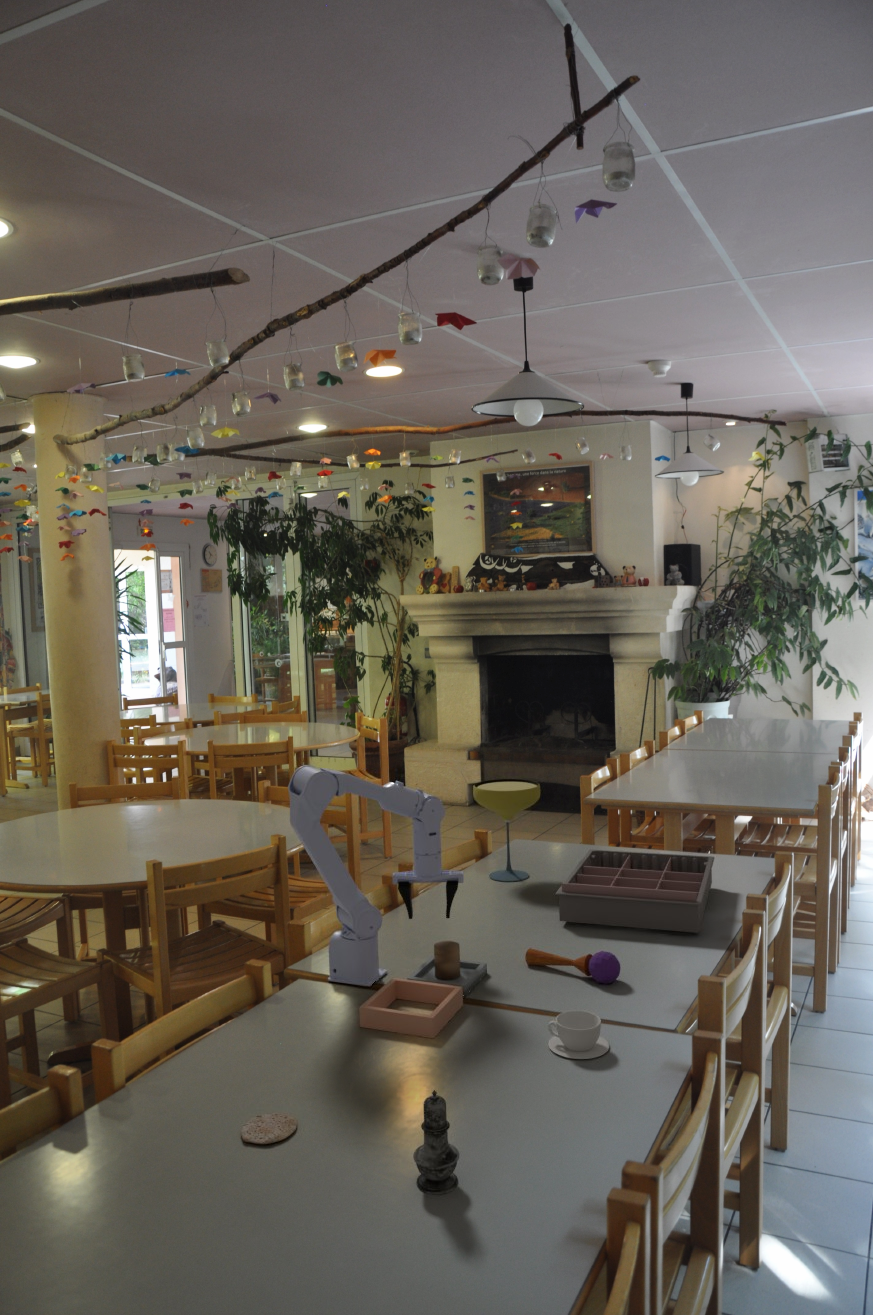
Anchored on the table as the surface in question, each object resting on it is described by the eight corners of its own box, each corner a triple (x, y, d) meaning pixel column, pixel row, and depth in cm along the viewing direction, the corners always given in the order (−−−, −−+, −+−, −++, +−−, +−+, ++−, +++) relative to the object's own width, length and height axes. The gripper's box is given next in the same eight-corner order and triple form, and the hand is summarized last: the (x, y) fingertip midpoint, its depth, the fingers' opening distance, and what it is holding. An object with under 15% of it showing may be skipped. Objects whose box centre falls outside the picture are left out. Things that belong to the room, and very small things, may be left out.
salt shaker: (412, 1170, 123) (409, 1080, 122) (457, 1167, 123) (454, 1077, 123) (415, 1198, 117) (412, 1104, 116) (462, 1194, 117) (459, 1100, 117)
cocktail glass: (461, 877, 256) (459, 785, 255) (507, 863, 269) (504, 776, 267) (511, 890, 243) (508, 794, 242) (556, 875, 255) (554, 783, 254)
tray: (407, 988, 182) (407, 978, 182) (431, 966, 193) (431, 956, 193) (465, 996, 177) (465, 986, 177) (486, 973, 188) (486, 963, 188)
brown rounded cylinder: (430, 978, 184) (429, 948, 184) (440, 969, 188) (439, 940, 188) (454, 982, 182) (453, 951, 182) (464, 972, 186) (463, 942, 186)
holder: (359, 1027, 166) (359, 1007, 166) (393, 996, 179) (393, 977, 178) (433, 1038, 160) (432, 1018, 160) (462, 1005, 173) (462, 987, 173)
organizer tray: (715, 887, 241) (714, 849, 240) (702, 941, 203) (701, 895, 203) (590, 879, 252) (589, 842, 251) (555, 928, 214) (554, 884, 214)
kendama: (537, 940, 195) (625, 951, 183) (537, 970, 195) (625, 983, 182) (521, 943, 191) (610, 955, 179) (521, 973, 190) (611, 988, 178)
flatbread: (269, 1112, 139) (269, 1105, 139) (308, 1127, 134) (307, 1120, 134) (228, 1138, 132) (228, 1131, 132) (267, 1154, 128) (267, 1147, 128)
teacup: (613, 1038, 159) (613, 1011, 159) (604, 1065, 150) (603, 1036, 149) (555, 1031, 162) (554, 1004, 162) (542, 1057, 153) (541, 1029, 153)
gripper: (390, 857, 190) (392, 924, 191) (462, 856, 190) (464, 923, 190) (393, 849, 197) (395, 913, 198) (462, 847, 197) (464, 911, 198)
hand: (429, 917), depth 195 cm, fingers open, 7 cm apart
